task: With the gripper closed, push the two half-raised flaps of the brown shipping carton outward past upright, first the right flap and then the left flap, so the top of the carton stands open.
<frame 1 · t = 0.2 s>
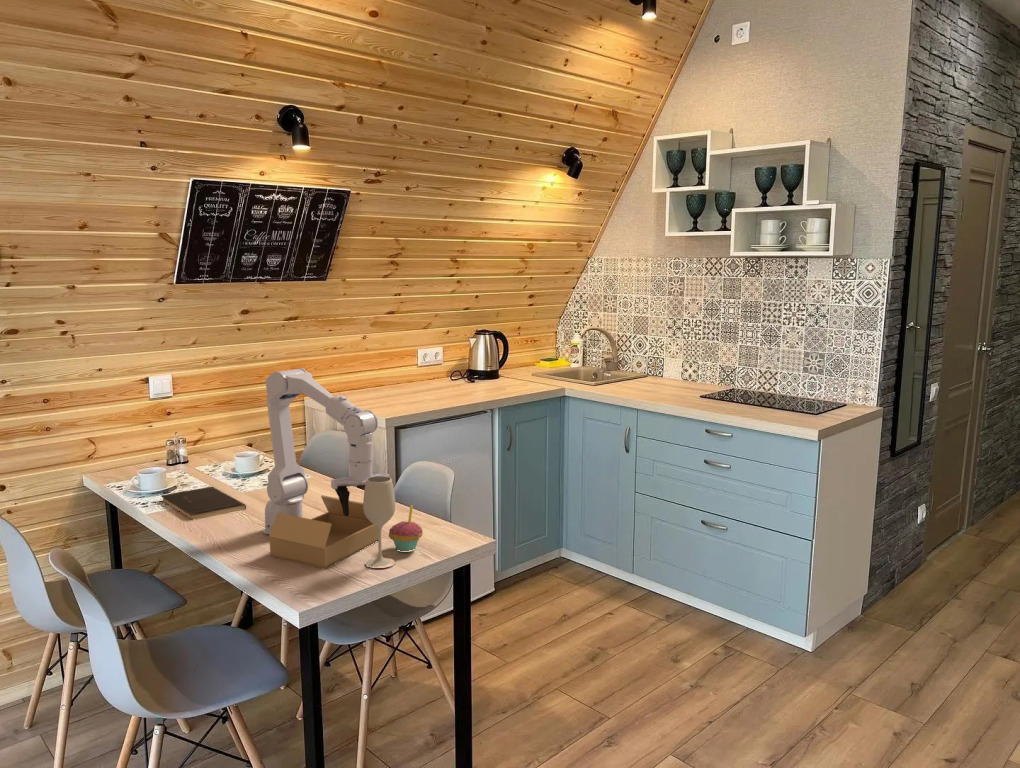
hand: (360, 512, 195), 10 cm above the table, tool pointing down, fingers open, 7 cm apart
flap 1: (300, 530, 188), point 8 cm above the table, hinge at 60.0°
cupcake: (405, 550, 198), on the table
carton: (326, 548, 198), on the table
hardcover book: (203, 507, 230), on the table
wineglass: (380, 564, 189), on the table
flap 2: (350, 508, 205), point 8 cm above the table, hinge at 60.0°
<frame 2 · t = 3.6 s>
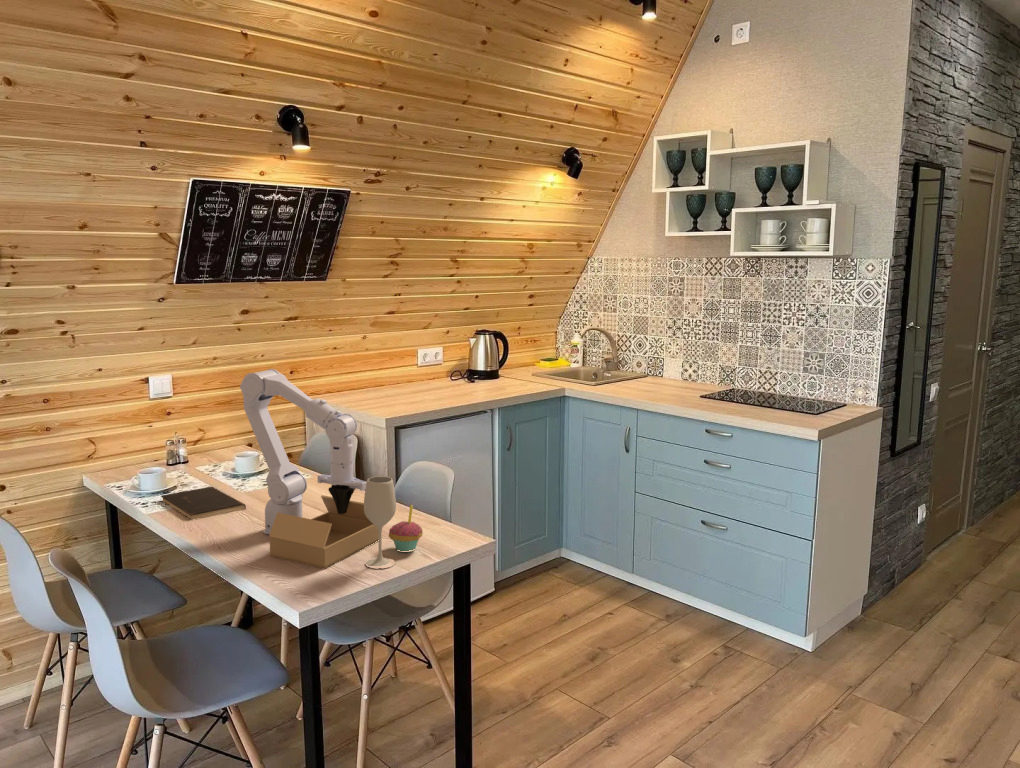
hand: (342, 513, 203), 7 cm above the table, tool pointing down, fingers closed, pressing on flap 2
flap 2: (350, 508, 205), point 8 cm above the table, hinge at 60.0°, touching gripper
everything else where it was.
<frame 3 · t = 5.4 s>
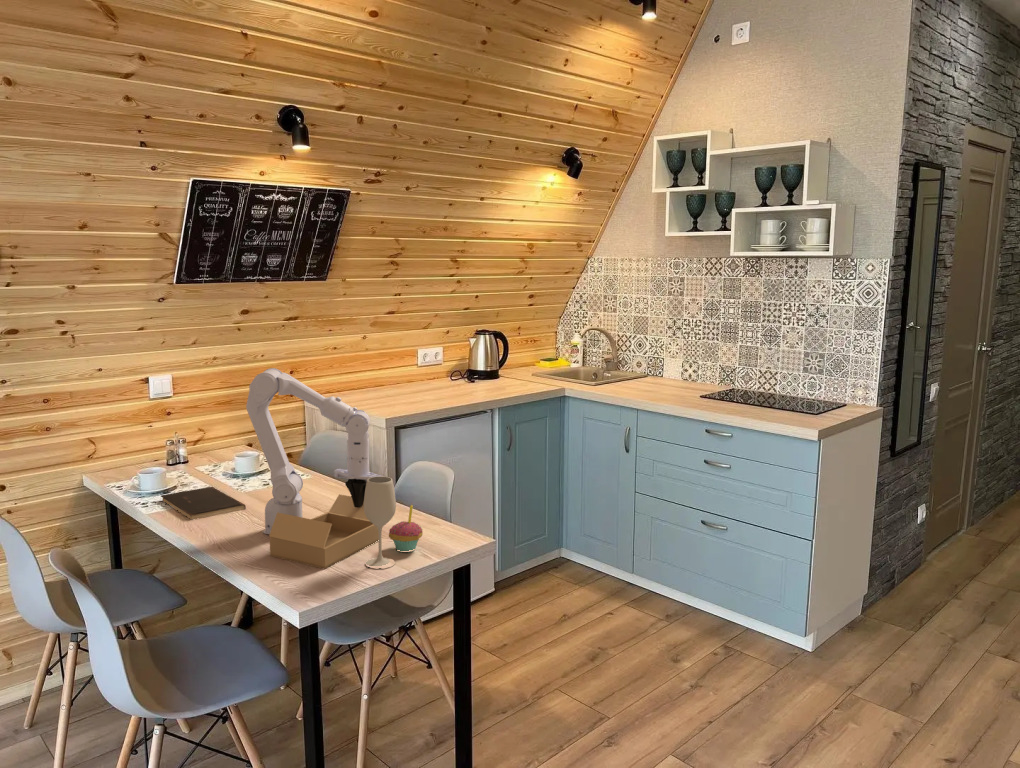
hand: (358, 506, 209), 7 cm above the table, tool pointing down, fingers closed, pressing on flap 2
flap 2: (358, 508, 209), point 7 cm above the table, hinge at 140.4°, touching gripper
everything else where it was.
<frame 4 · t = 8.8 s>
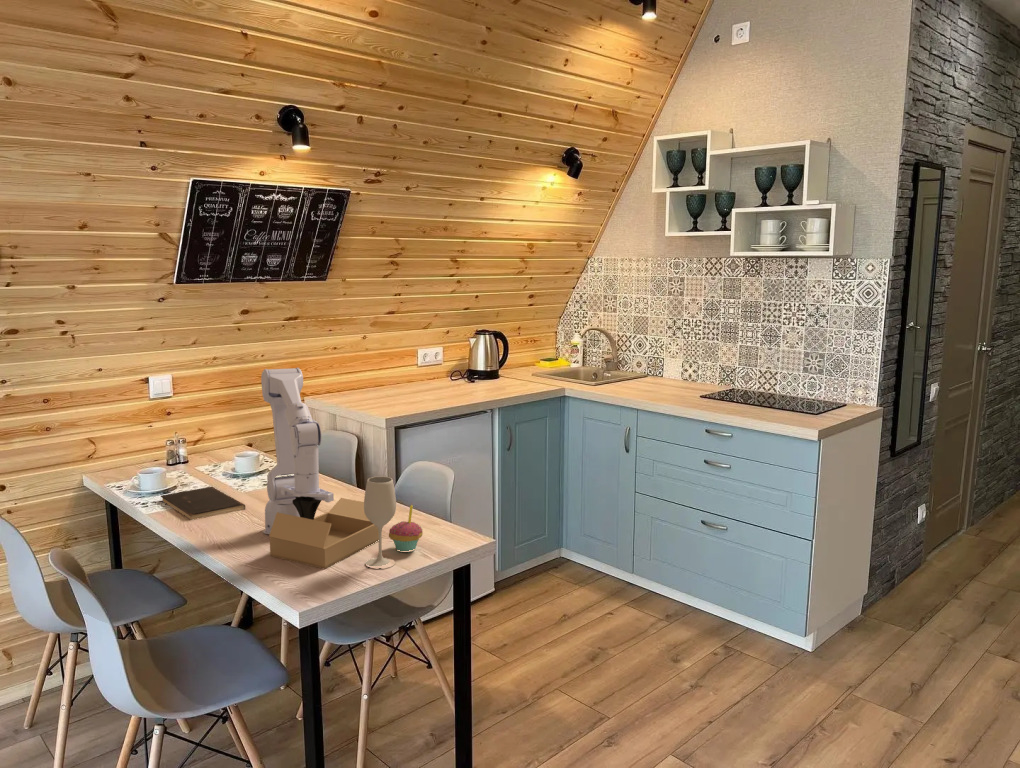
hand: (307, 526, 190), 8 cm above the table, tool pointing down, fingers closed, pressing on flap 1
flap 1: (299, 530, 188), point 8 cm above the table, hinge at 61.6°, touching carton, gripper
flap 2: (359, 510, 209), point 6 cm above the table, hinge at 154.0°
everything else where it was.
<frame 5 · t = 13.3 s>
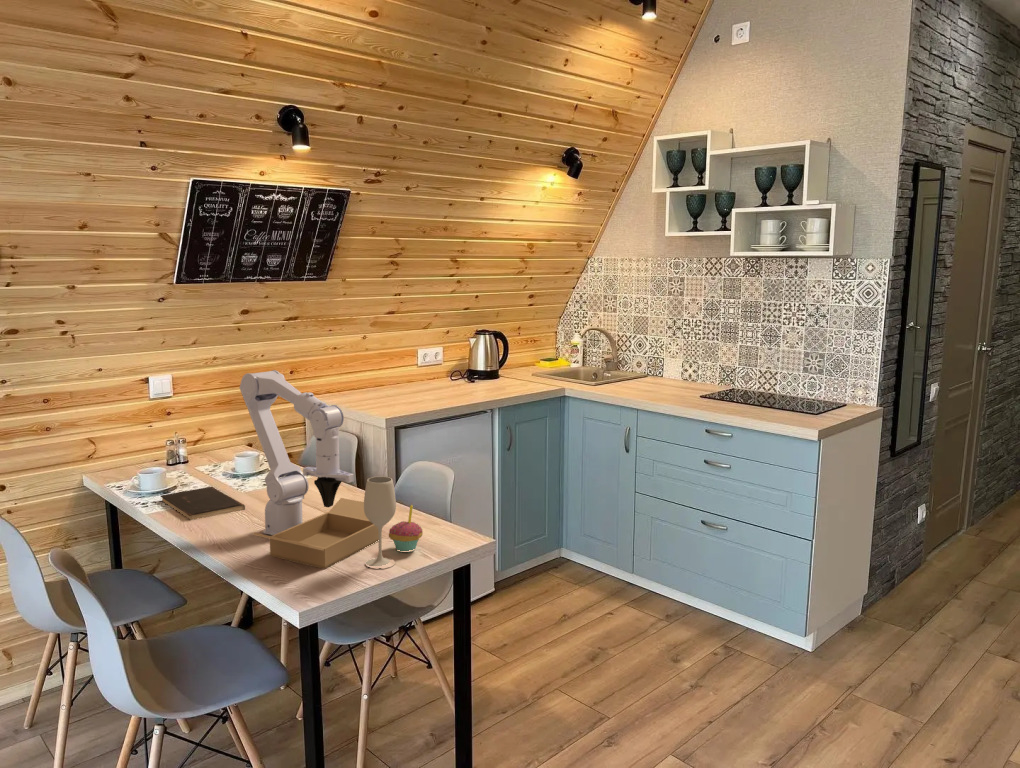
hand: (328, 506, 199), 10 cm above the table, tool pointing down, fingers closed
flap 1: (288, 541, 185), point 6 cm above the table, hinge at 153.5°, touching carton
everything else where it was.
at the end: flap 2 at +154° (first picture: +60°); flap 1 at +154° (first picture: +60°) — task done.
